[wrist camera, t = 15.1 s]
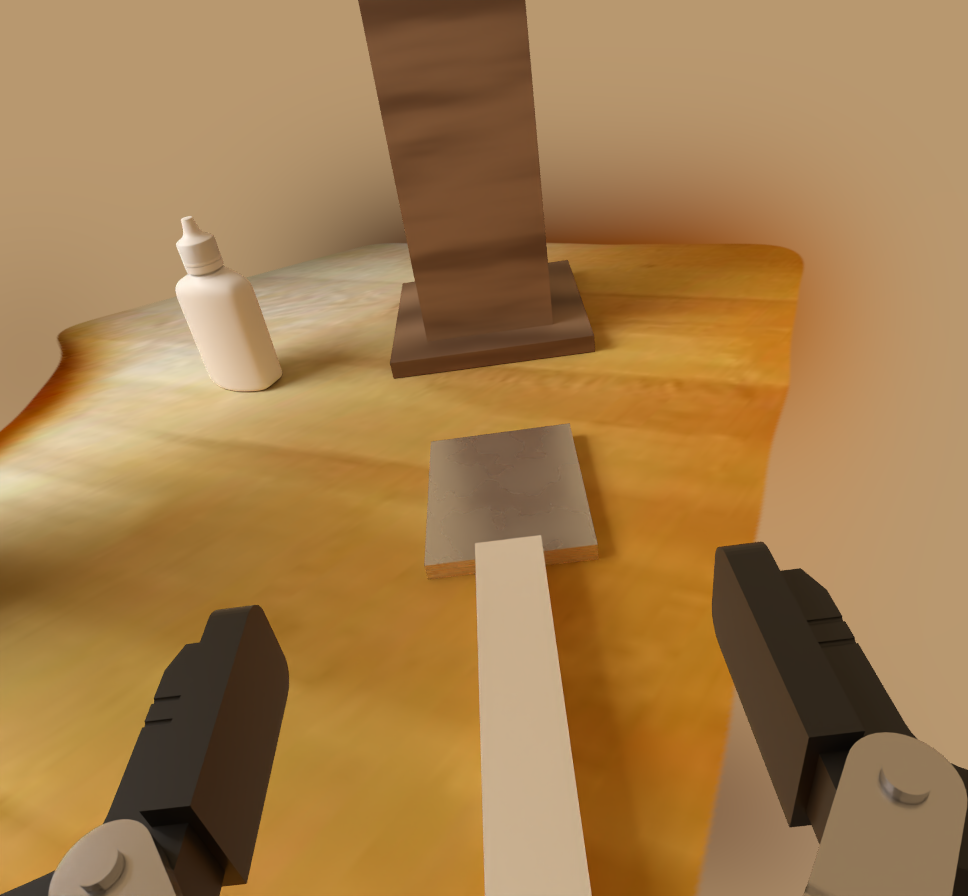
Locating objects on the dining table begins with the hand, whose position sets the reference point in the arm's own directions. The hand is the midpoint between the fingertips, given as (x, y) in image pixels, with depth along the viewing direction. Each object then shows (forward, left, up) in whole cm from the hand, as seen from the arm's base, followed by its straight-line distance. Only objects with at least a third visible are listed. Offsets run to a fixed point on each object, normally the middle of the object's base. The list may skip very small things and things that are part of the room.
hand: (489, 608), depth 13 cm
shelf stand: (-17, +38, -14) cm, 44 cm away
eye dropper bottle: (-32, +27, -14) cm, 44 cm away
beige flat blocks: (-5, +11, -14) cm, 19 cm away
